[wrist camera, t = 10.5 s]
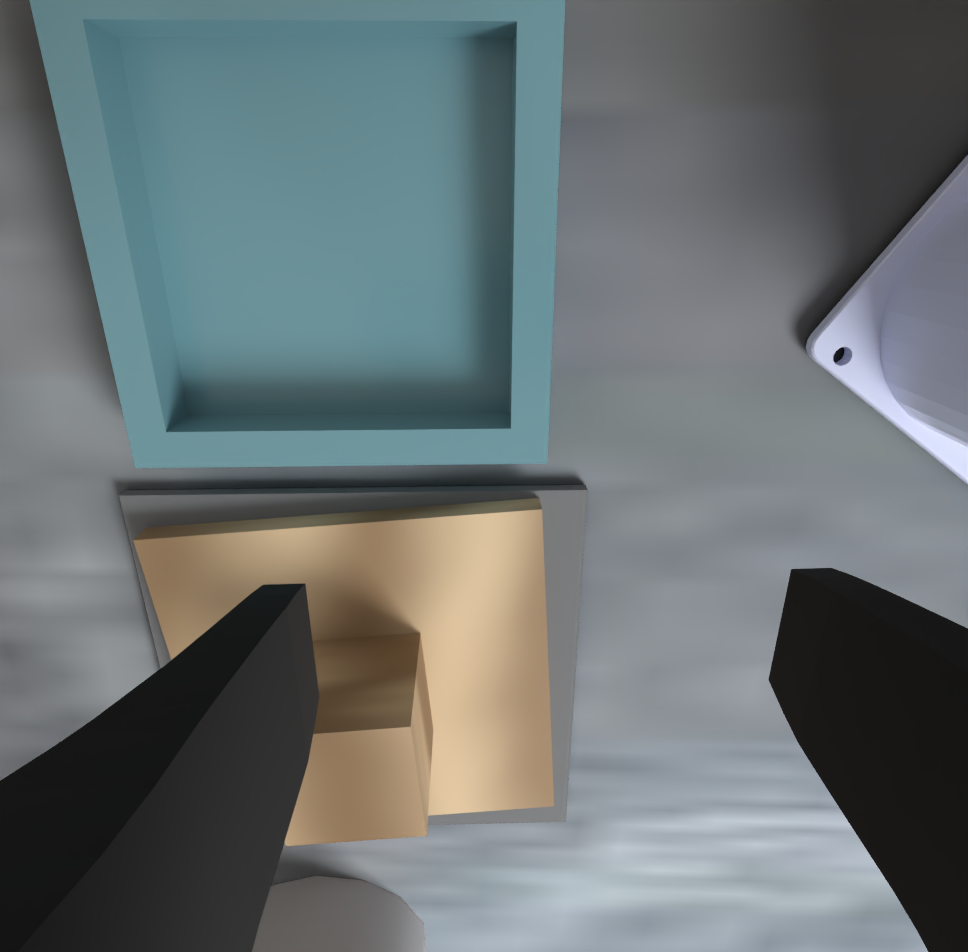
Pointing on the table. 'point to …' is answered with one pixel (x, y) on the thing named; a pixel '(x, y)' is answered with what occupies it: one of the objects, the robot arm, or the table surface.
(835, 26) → the table surface
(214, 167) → the teal dish
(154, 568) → the oak cover
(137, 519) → the rubber mat
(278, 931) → the cup
